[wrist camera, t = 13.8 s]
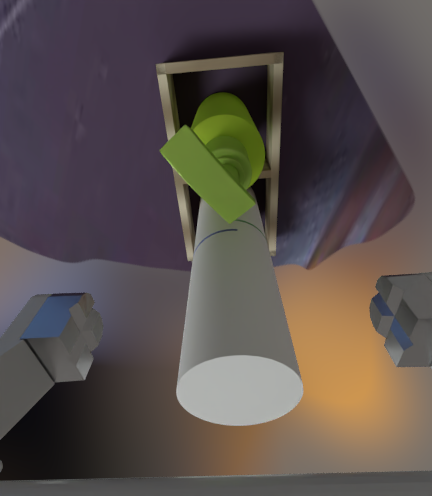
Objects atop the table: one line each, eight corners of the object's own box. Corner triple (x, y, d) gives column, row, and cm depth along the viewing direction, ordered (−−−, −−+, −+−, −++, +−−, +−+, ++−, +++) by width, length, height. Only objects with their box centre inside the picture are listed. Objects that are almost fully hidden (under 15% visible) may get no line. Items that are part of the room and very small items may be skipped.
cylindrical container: (195, 181, 36) (162, 361, 15) (253, 173, 35) (304, 349, 14) (205, 231, 40) (189, 428, 19) (257, 224, 39) (302, 421, 18)
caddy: (162, 62, 29) (155, 64, 26) (276, 52, 28) (283, 52, 25) (190, 243, 41) (188, 261, 37) (270, 238, 40) (275, 255, 37)
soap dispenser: (217, 69, 29) (217, 92, 13) (260, 124, 32) (305, 202, 15) (177, 112, 31) (130, 180, 15) (220, 160, 34) (221, 262, 18)
